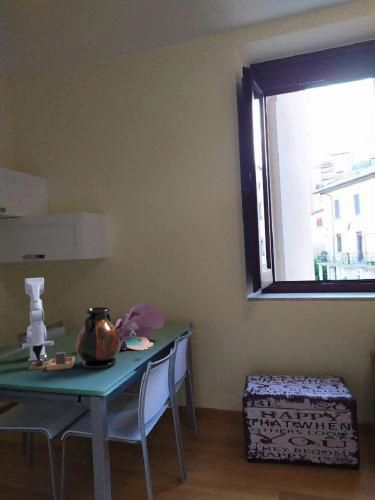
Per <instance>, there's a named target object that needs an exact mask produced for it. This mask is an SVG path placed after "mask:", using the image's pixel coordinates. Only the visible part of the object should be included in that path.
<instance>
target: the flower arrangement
mask: <svg viewBox="0 0 375 500" xmlns="http://www.w3.org/2000/svg"><path fill="white" fill-rule="evenodd" d="M164 324H165V318H164V315H163V314H162V313H161V312H160V311H159V310H158V307H157V305H155V304H154V303H151V302H147V303H146V302H144V301H142V302H139V303H138V304H136V305H134V306H133V307H132V308H130V309H129V312H128V313H125V314H124V315H123V316H122V318H118V319H117V321H116V323H115V328H116V329H117V331H118V333H119V336H120V340H121V347H120V350H124V351H125V350H127V349H131V350H136V351H143V350H144V349H145V350H147V349H149V348H148V347H150V348H152V347H153V346H154V342H152V341H151V342H150V339H151V338H152V337H153V336H154V333H155V331H154V330H159V329H161V328H162V327H163V326H164ZM151 346H152V347H151Z"/></svg>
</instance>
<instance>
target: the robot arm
mask: <svg viewBox="0 0 375 500" xmlns="http://www.w3.org/2000/svg"><path fill="white" fill-rule="evenodd" d="M24 289H25V294H26V295H28V296H29V297H30V301H29V310H30V312H29V321H30V324H29V326H27V328H26V341H27V342H25V343H23V342H22V344H21V349H25V348H29V358H28V359H27V361H28V362H29V361H37V359H38V358H40V355H47V353H46V347H49V346H54V340H47V335H48V333H47V327H46V325H45V324H44V320H45V312H44V308H43V301H42V299H40V296H41V294H43V293H44V289H45V279H44V277H30V278H26V277H25V279H24ZM47 356H48V355H47Z"/></svg>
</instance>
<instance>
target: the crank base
mask: <svg viewBox="0 0 375 500" xmlns="http://www.w3.org/2000/svg"><path fill="white" fill-rule="evenodd" d="M49 361H50V359H47V361H45V362H44V363H43V364H42V366H37V360H33V362H32V363H31V364H30V365H29V367H28V368H27V371H29V372H30V371H39V370H47V369H46V366H47V364H48V363H49Z"/></svg>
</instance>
